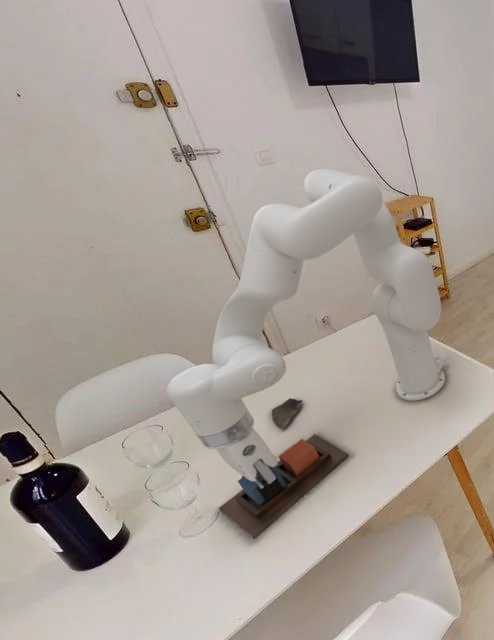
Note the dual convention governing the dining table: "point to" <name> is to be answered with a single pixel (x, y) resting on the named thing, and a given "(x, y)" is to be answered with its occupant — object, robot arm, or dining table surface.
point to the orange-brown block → (299, 457)
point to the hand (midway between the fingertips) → (266, 488)
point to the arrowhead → (285, 412)
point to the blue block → (251, 486)
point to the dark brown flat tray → (283, 490)
